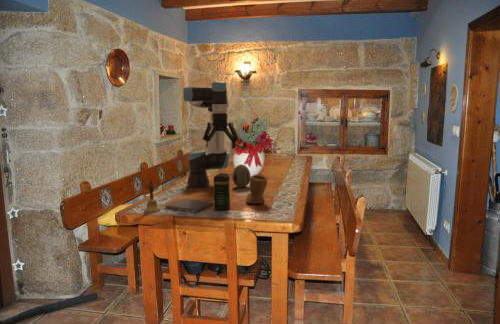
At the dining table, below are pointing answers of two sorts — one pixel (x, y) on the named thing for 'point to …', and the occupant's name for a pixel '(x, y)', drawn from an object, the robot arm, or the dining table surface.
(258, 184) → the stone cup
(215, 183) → the coffee jar
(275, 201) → the dining table surface
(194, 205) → the plate
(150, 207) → the hand bell
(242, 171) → the decorative egg
